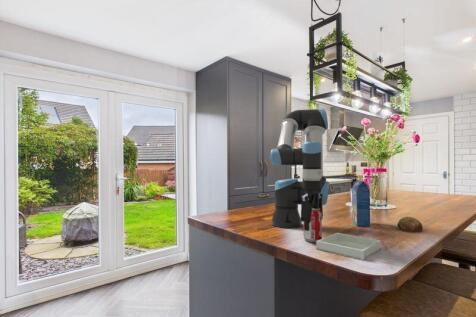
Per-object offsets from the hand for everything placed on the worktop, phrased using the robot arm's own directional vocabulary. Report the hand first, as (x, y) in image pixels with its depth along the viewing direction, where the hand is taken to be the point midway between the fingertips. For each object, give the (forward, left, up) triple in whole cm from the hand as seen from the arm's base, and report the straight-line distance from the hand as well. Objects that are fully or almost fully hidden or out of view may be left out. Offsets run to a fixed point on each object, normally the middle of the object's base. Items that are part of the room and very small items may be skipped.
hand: (312, 236), depth 112 cm
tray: (+15, -1, -2) cm, 15 cm away
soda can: (0, 0, -2) cm, 2 cm away
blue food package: (+3, +44, -2) cm, 44 cm away
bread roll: (+24, +48, -2) cm, 53 cm away
